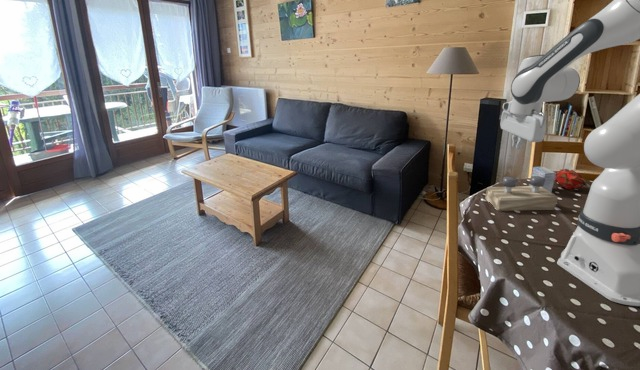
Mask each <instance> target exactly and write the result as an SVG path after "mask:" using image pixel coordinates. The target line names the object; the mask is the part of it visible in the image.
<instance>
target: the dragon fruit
mask: <svg viewBox="0 0 640 370" xmlns="http://www.w3.org/2000/svg"><path fill="white" fill-rule="evenodd" d="M555 173H556V175H555V180H554V183H557V184H558V188H562V187H563V188H565V189H567V190H568V191H571V192H576V191H577V190H576V189H583V188H584V186H585V187H587V184H588V182H587V181H586V179H584V178H583V176H582V174H580V173H577V171H575V170H573V169H569V168H563V169H562V168H561V169H560V170H558V171H556V172H555Z"/></svg>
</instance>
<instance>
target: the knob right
mask: <svg viewBox="0 0 640 370" xmlns="http://www.w3.org/2000/svg"><path fill="white" fill-rule="evenodd" d="M530 179H531V180H530ZM530 179H529V184H531V185H533V186H532V190H531V191H532V192H533V193H538V192H539V188H540V187H543V186H544V183H545V180H546V179H545V178H543V177H539V176H532V177H531V176H530Z"/></svg>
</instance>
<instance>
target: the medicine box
mask: <svg viewBox="0 0 640 370" xmlns="http://www.w3.org/2000/svg"><path fill="white" fill-rule="evenodd" d="M556 173H557V172H555V171H553V170H552V169H550V168H547V167H545V166H533V167H532V171H531V175H530V179H529V181H530V180H531V177H532V176H539V177H543V178H545V179H546V180H545V183H544V186H543V188H544V189H546V190H548V191H549V192H551V193H553V192H552V191H553V188H554V184H555V181H554V180H555V175H556ZM528 186H533V185H531V184H530V183H529V184H528Z"/></svg>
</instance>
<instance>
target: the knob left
mask: <svg viewBox="0 0 640 370" xmlns="http://www.w3.org/2000/svg"><path fill="white" fill-rule="evenodd" d="M517 183H518V178H515V177H513V176H504V177H503V179H502V183H501V185H502V186H503V187H505V189H504V192H505V193H511V190H512V187H516V186H517Z"/></svg>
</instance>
